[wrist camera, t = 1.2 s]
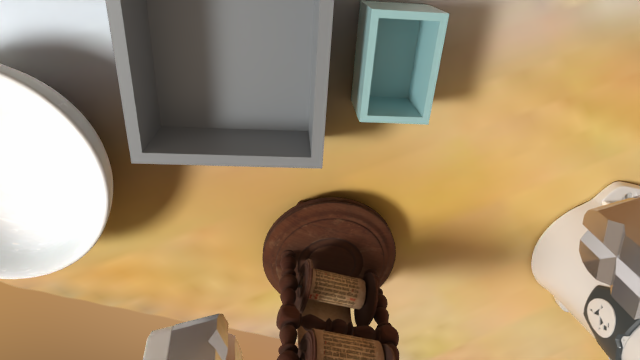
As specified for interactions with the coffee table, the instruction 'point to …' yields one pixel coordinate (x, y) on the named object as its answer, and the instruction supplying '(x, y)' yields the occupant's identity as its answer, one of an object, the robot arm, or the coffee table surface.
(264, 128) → the big crate
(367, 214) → the brown tall piece
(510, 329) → the coffee table surface
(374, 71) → the small crate
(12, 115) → the serving bowl
